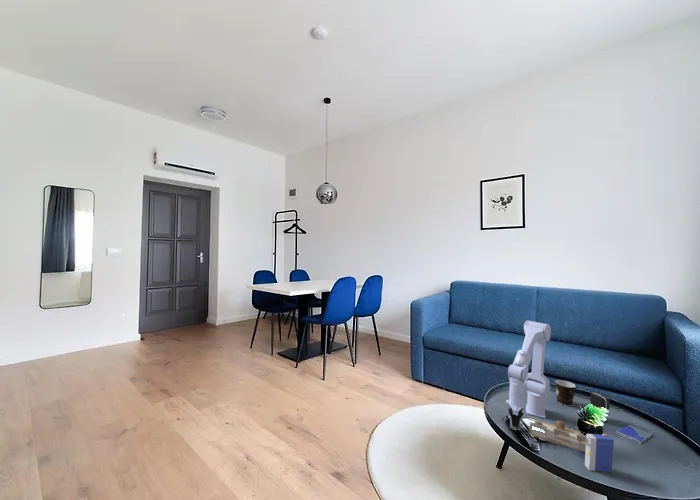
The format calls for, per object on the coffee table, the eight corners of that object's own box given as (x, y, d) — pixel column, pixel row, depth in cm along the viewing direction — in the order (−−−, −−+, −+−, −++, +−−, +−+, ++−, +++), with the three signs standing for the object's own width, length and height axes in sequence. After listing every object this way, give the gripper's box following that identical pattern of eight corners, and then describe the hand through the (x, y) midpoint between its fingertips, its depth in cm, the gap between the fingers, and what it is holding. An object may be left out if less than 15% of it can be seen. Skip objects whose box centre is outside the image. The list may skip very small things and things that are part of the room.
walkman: (606, 466, 116) (607, 434, 116) (612, 472, 113) (613, 438, 113) (583, 464, 117) (585, 432, 116) (588, 470, 114) (590, 437, 114)
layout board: (528, 420, 146) (529, 411, 146) (593, 437, 134) (593, 428, 134) (528, 436, 134) (529, 426, 133) (599, 456, 122) (600, 445, 122)
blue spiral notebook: (640, 441, 131) (653, 433, 137) (616, 430, 138) (629, 423, 144) (640, 445, 131) (652, 437, 137) (615, 434, 138) (629, 427, 144)
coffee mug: (555, 397, 170) (555, 378, 169) (574, 402, 165) (575, 383, 164) (553, 405, 160) (554, 386, 160) (574, 411, 155) (575, 391, 155)
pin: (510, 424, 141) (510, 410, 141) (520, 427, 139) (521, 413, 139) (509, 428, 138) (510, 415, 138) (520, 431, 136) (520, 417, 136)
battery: (610, 422, 146) (611, 398, 146) (603, 423, 145) (605, 398, 145) (595, 414, 153) (596, 391, 153) (588, 415, 152) (590, 391, 152)
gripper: (507, 384, 147) (506, 413, 147) (505, 397, 134) (504, 429, 134) (524, 388, 143) (523, 418, 143) (524, 401, 131) (523, 434, 131)
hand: (515, 423), depth 139 cm, fingers closed on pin, 4 cm apart
